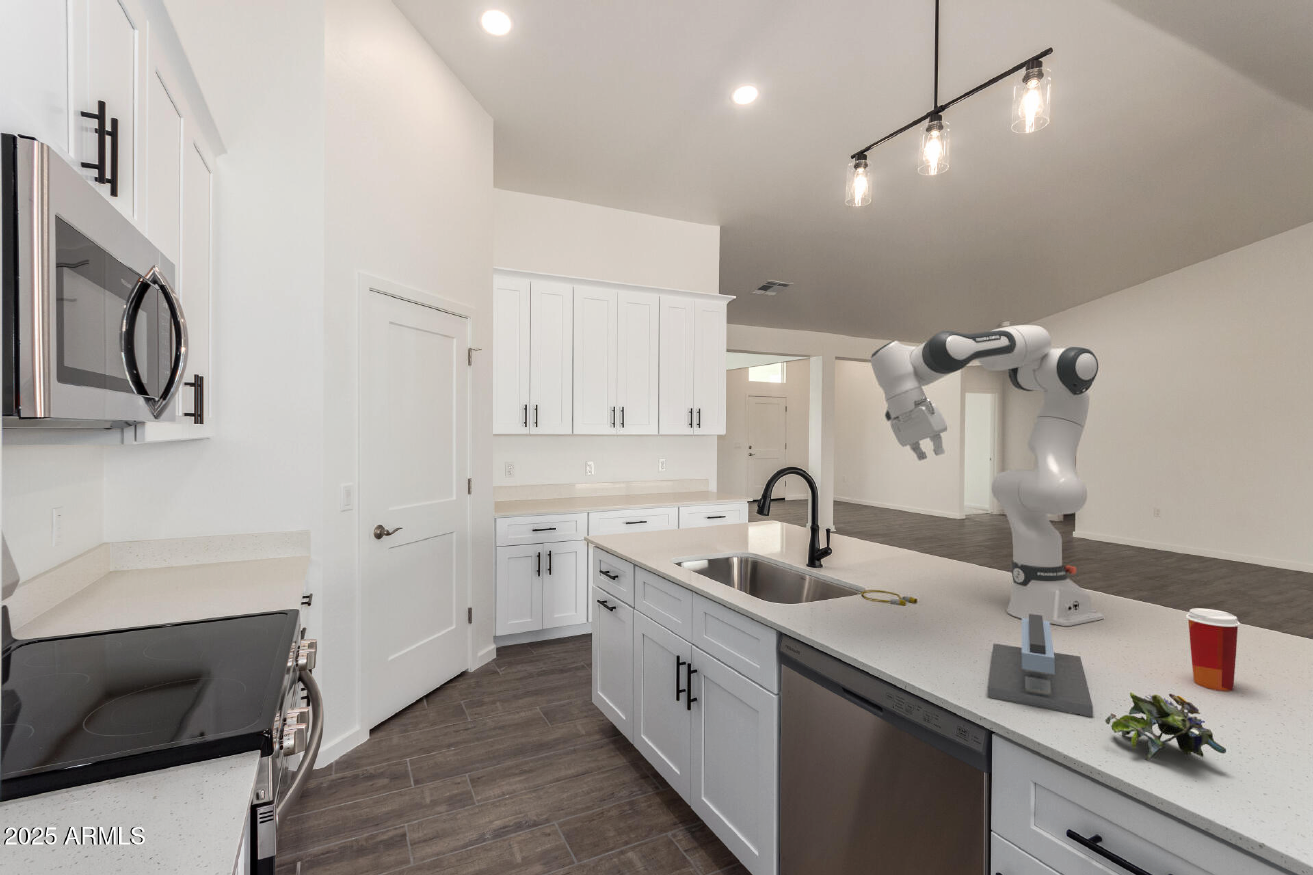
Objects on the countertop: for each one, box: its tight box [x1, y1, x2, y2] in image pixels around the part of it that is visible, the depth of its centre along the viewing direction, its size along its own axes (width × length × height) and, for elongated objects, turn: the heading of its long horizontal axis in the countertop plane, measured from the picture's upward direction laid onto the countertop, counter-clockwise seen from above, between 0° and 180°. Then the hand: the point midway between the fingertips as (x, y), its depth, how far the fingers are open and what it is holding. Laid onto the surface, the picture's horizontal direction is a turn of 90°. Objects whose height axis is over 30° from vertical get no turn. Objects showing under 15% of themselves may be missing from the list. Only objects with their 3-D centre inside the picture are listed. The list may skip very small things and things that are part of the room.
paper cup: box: [1185, 607, 1241, 692], centre depth 115 cm, size 8×8×14 cm
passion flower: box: [1104, 691, 1227, 761], centre depth 91 cm, size 11×11×12 cm
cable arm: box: [1021, 614, 1055, 674], centre depth 118 cm, size 25×5×8 cm, turn 148°
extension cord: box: [861, 589, 918, 607], centre depth 177 cm, size 12×16×2 cm
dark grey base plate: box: [987, 643, 1094, 718], centre depth 118 cm, size 26×16×3 cm, turn 148°
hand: (931, 457), depth 143 cm, fingers open, 8 cm apart
